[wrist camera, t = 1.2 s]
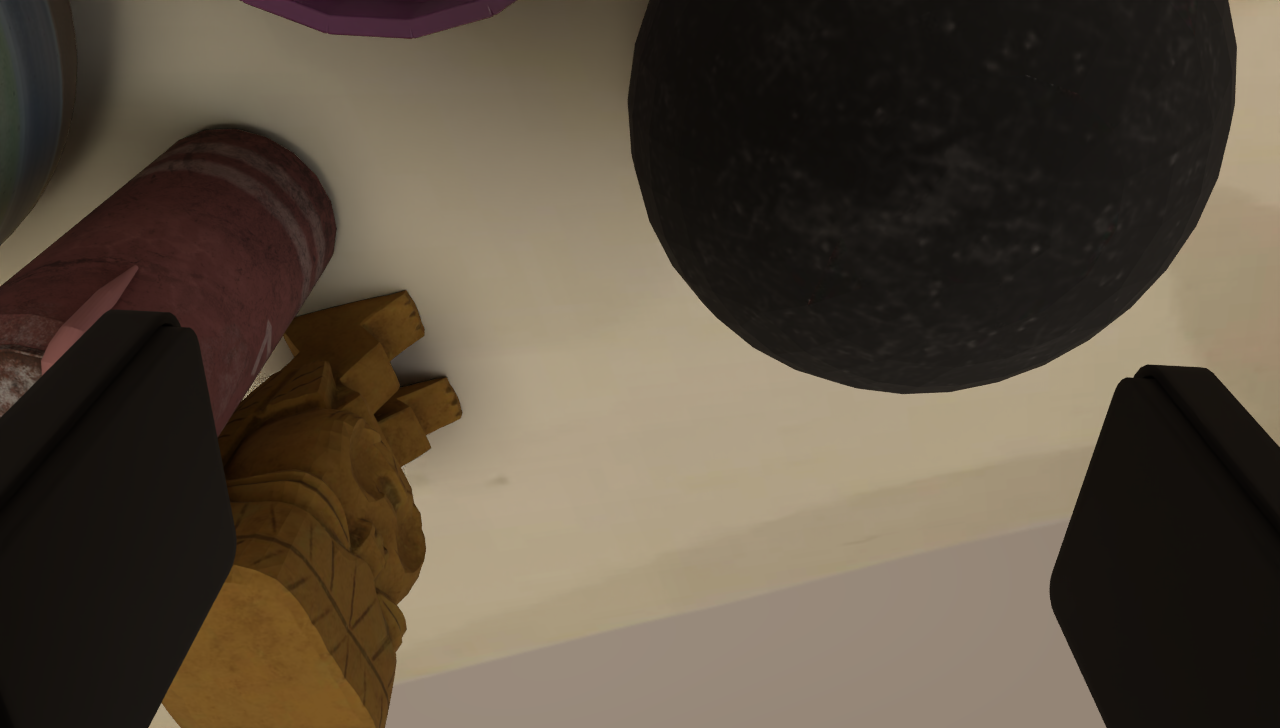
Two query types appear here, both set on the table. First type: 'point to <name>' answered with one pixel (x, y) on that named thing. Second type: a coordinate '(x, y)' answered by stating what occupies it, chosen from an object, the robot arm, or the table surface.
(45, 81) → the vase
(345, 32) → the bowl
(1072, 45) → the black crystal ball
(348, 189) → the table surface
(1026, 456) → the table surface
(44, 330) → the can
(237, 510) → the figurine
